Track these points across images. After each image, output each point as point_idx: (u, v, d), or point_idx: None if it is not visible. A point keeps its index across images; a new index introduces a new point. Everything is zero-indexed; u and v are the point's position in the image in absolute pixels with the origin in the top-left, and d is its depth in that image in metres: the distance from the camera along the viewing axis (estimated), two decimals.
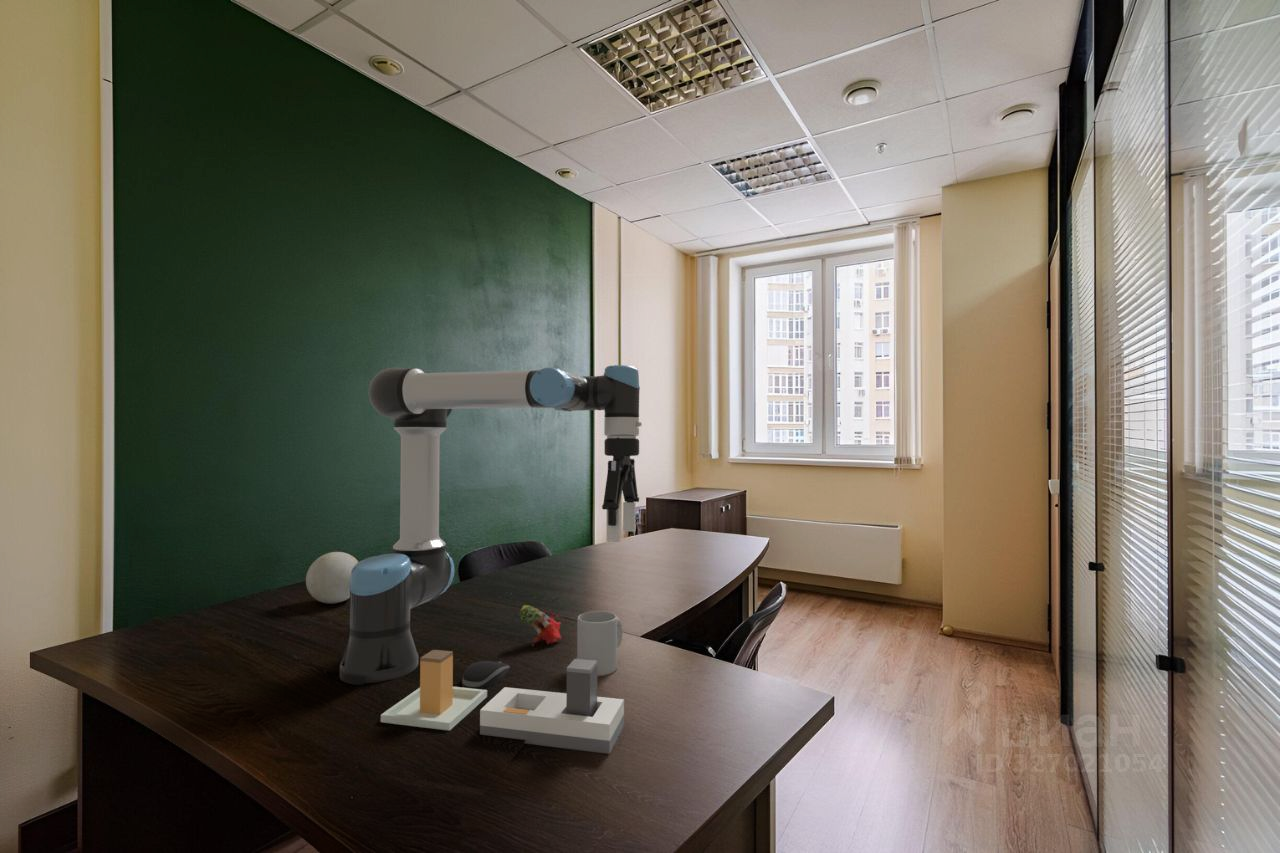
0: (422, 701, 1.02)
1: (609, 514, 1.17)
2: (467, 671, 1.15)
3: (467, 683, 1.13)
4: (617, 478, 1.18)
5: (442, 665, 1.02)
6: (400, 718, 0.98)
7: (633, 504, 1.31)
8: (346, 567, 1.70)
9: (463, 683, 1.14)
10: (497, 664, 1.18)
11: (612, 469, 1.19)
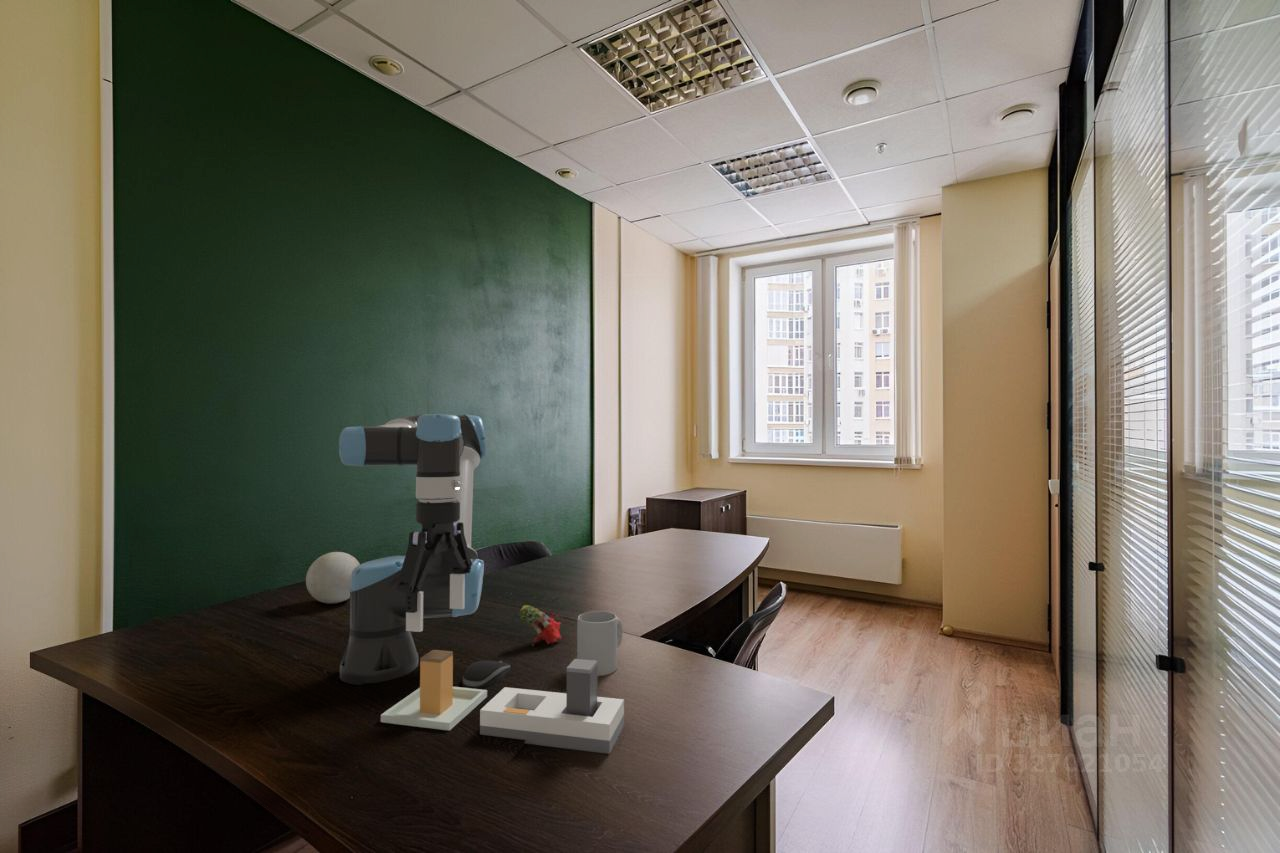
0: (422, 701, 1.02)
1: (407, 599, 0.96)
2: (468, 670, 1.16)
3: (468, 683, 1.13)
4: (418, 554, 0.97)
5: (442, 665, 1.02)
6: (400, 718, 0.98)
7: (461, 576, 1.10)
8: (346, 567, 1.70)
9: (464, 682, 1.14)
10: (498, 664, 1.18)
11: (414, 542, 0.98)
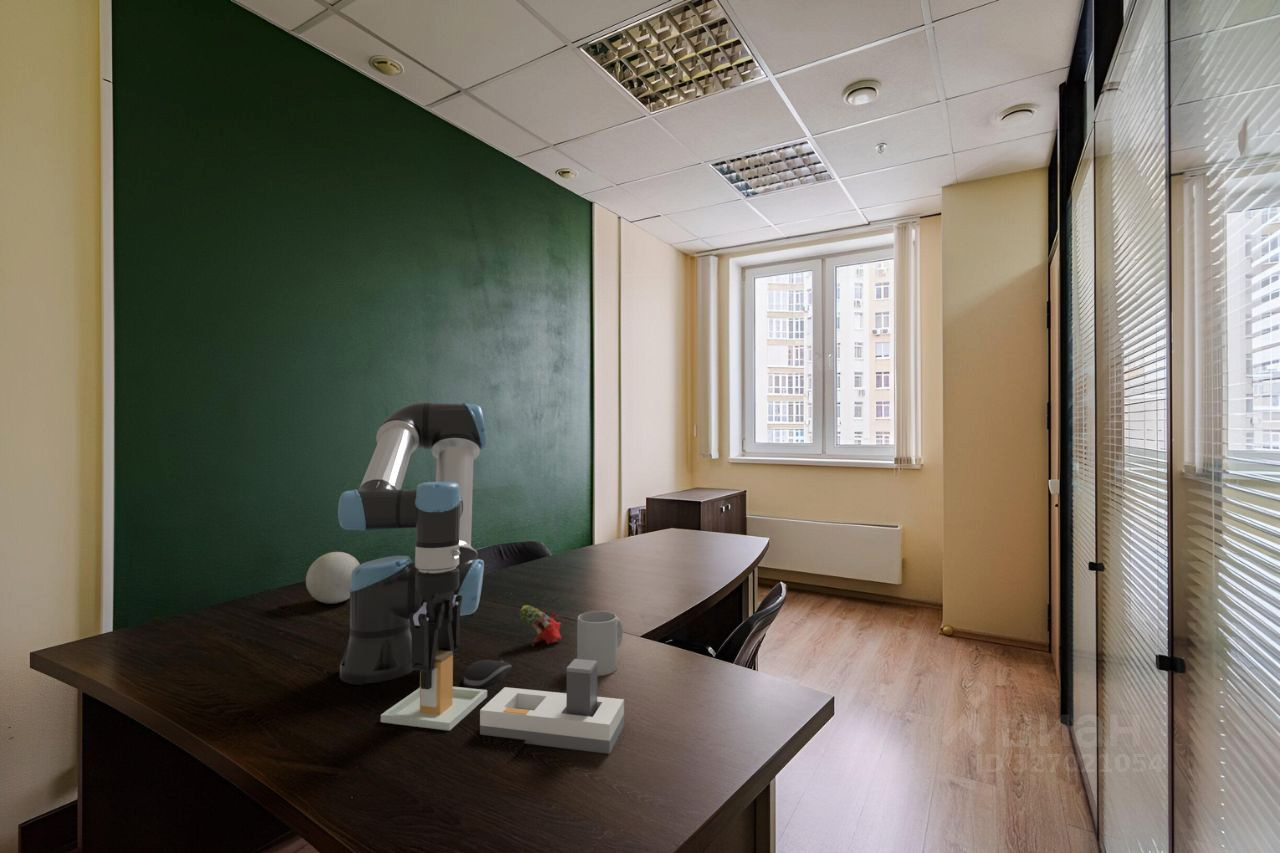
0: None
1: (422, 676, 1.01)
2: (469, 670, 1.16)
3: (468, 682, 1.14)
4: (423, 636, 0.99)
5: (442, 665, 1.02)
6: (400, 718, 0.98)
7: None
8: (346, 567, 1.70)
9: (464, 682, 1.14)
10: (498, 663, 1.19)
11: (416, 624, 0.99)
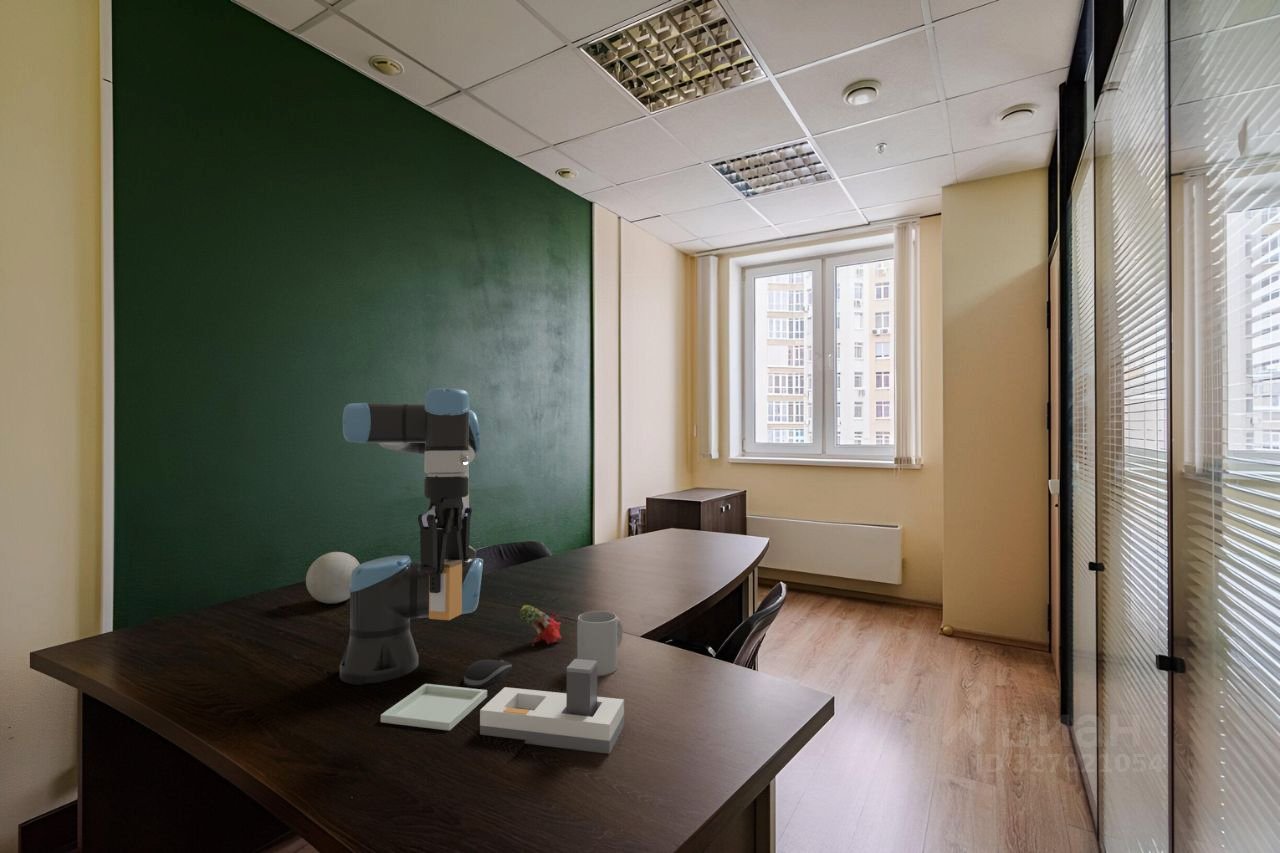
0: None
1: (430, 579, 1.00)
2: (469, 669, 1.16)
3: (469, 682, 1.14)
4: (432, 537, 0.98)
5: (451, 570, 1.02)
6: (400, 718, 0.98)
7: None
8: (346, 567, 1.70)
9: (465, 681, 1.14)
10: (499, 663, 1.19)
11: (425, 525, 0.98)
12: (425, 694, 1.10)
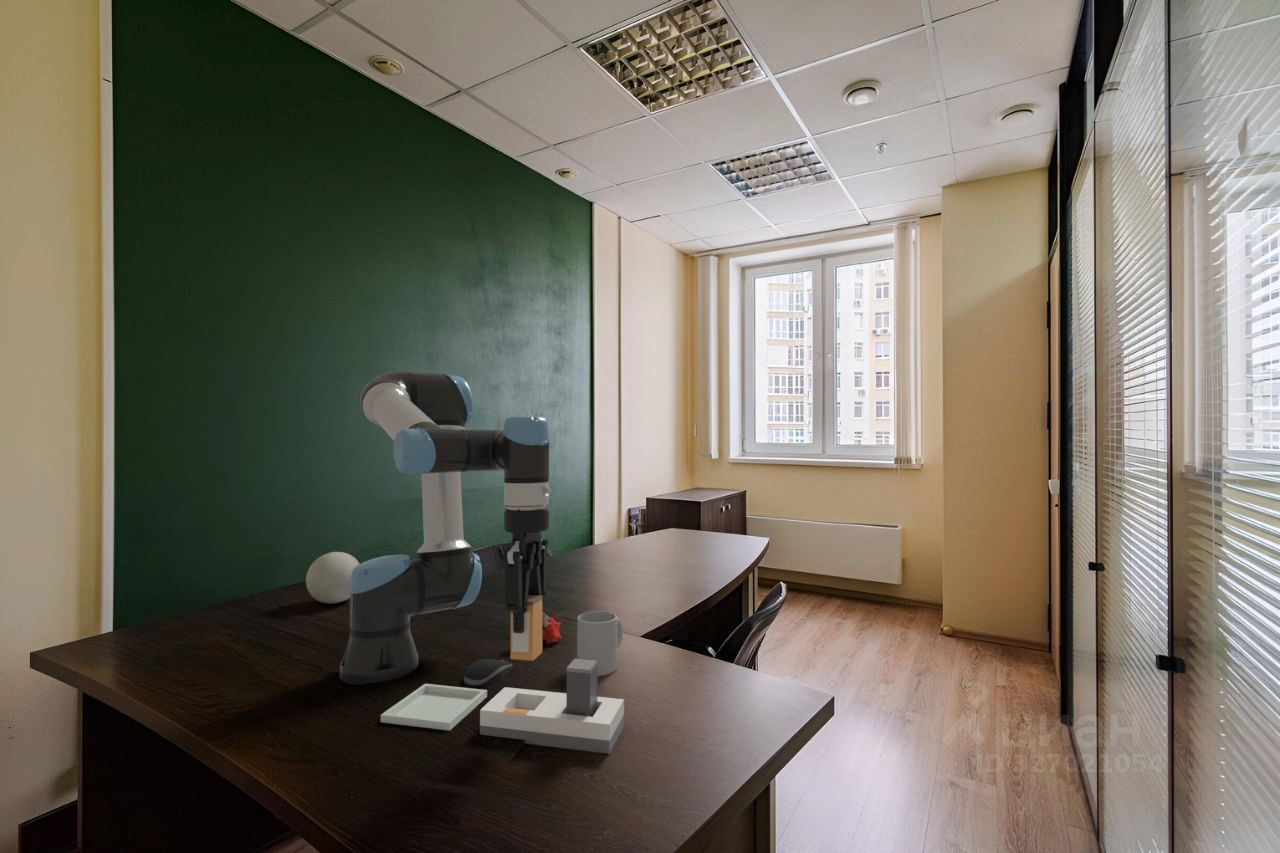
0: None
1: (514, 619, 0.95)
2: (469, 669, 1.16)
3: (469, 681, 1.14)
4: (518, 575, 0.93)
5: (534, 608, 0.97)
6: (400, 718, 0.98)
7: None
8: (346, 567, 1.70)
9: (465, 681, 1.15)
10: (499, 662, 1.19)
11: (510, 563, 0.93)
12: (425, 694, 1.10)
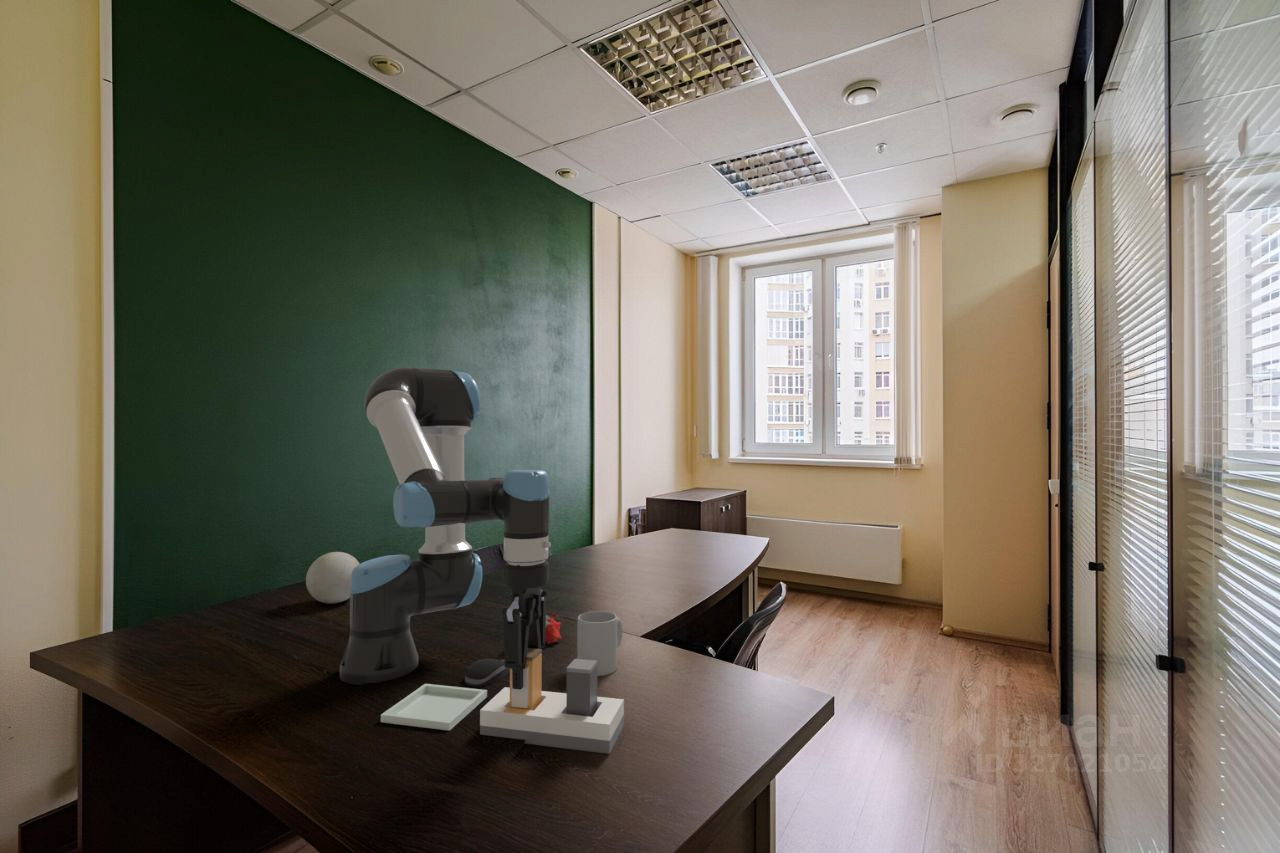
0: None
1: (513, 675, 0.95)
2: (470, 669, 1.16)
3: (469, 681, 1.14)
4: (517, 632, 0.93)
5: (533, 663, 0.97)
6: (400, 718, 0.98)
7: None
8: (346, 567, 1.70)
9: (465, 680, 1.15)
10: (500, 662, 1.19)
11: (509, 620, 0.93)
12: (425, 694, 1.10)
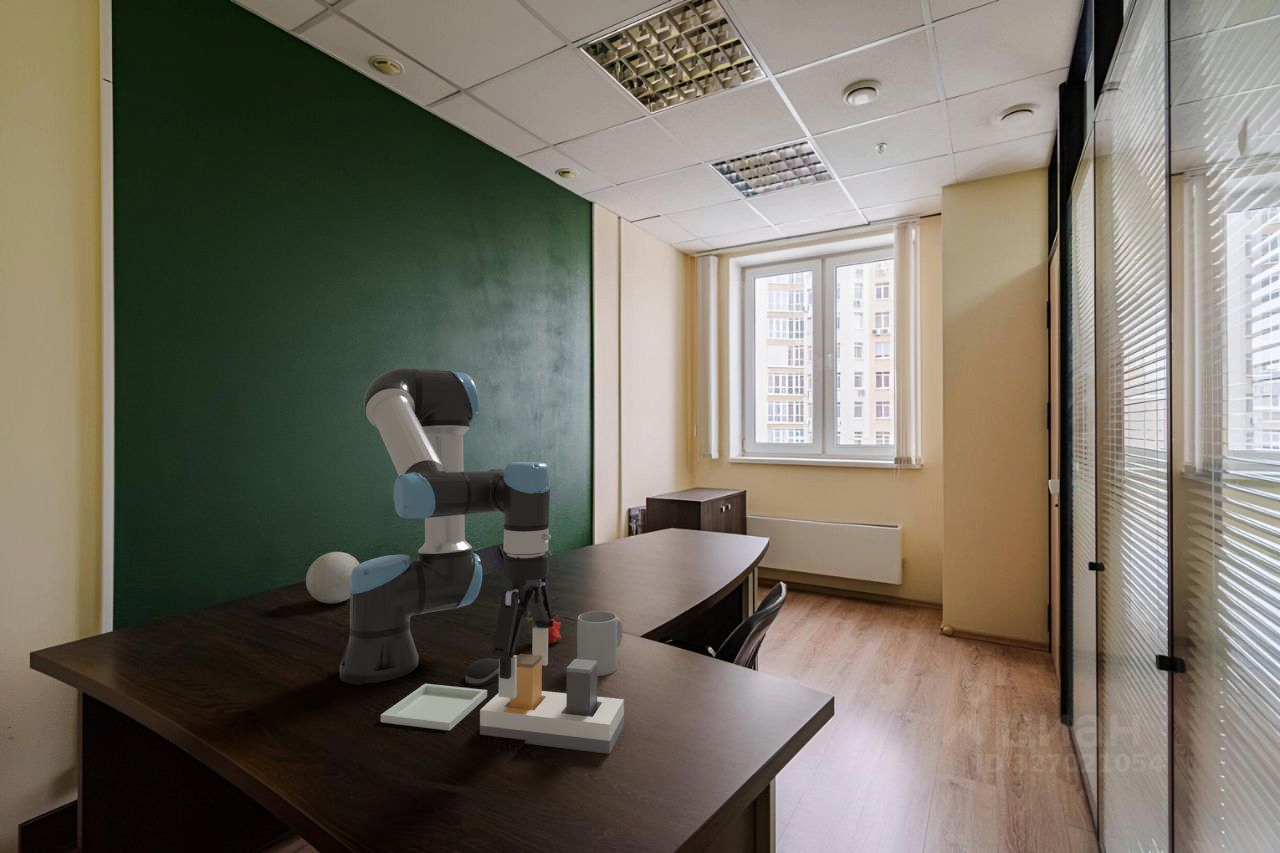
0: None
1: (501, 664, 0.91)
2: (470, 668, 1.17)
3: (470, 680, 1.15)
4: (512, 617, 0.91)
5: (534, 670, 0.97)
6: (400, 718, 0.98)
7: (545, 631, 1.05)
8: (346, 567, 1.70)
9: (466, 680, 1.15)
10: None
11: (506, 603, 0.92)
12: (425, 694, 1.10)
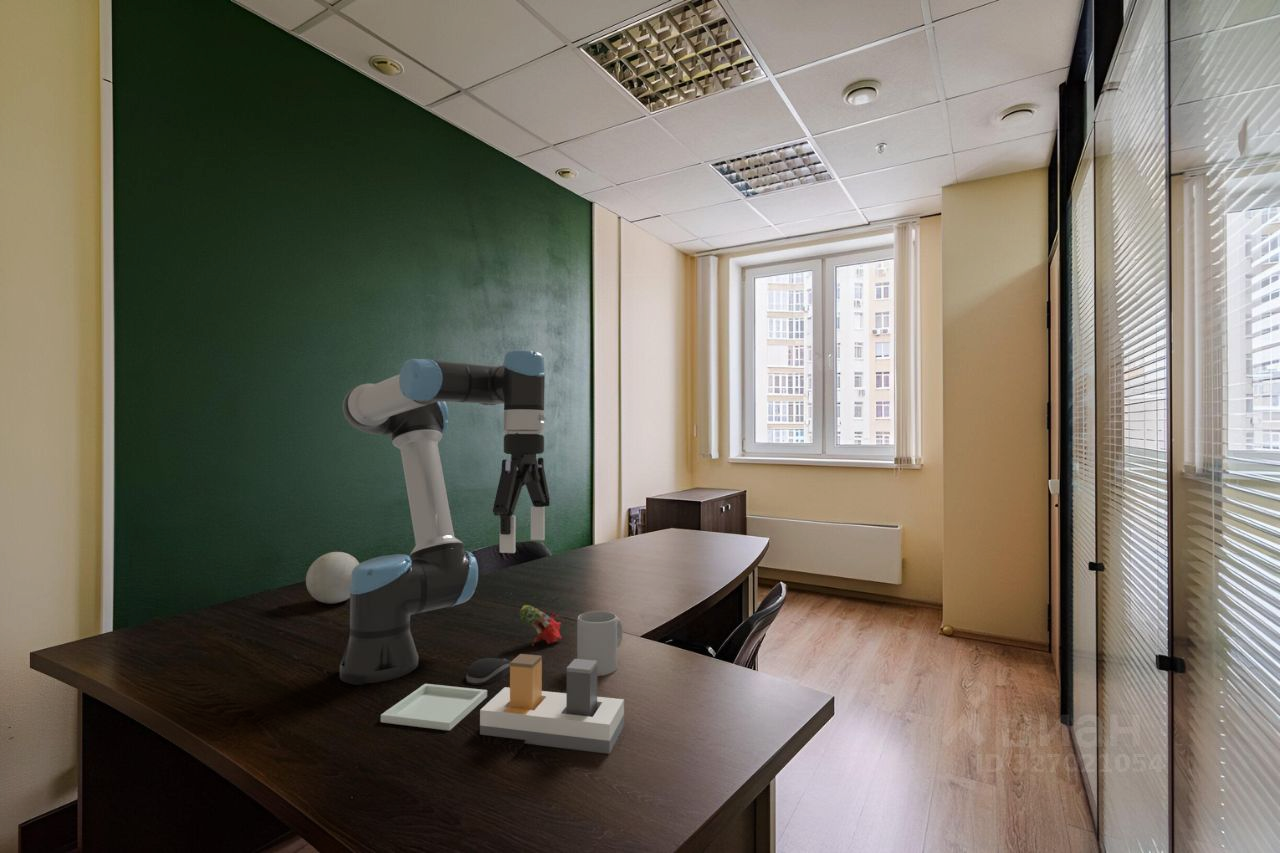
0: None
1: (501, 521, 1.02)
2: (471, 667, 1.17)
3: (470, 679, 1.15)
4: (511, 480, 1.02)
5: (534, 670, 0.97)
6: (400, 718, 0.98)
7: (542, 509, 1.16)
8: (346, 567, 1.70)
9: (467, 679, 1.16)
10: (501, 661, 1.20)
11: (506, 469, 1.03)
12: (425, 694, 1.10)
